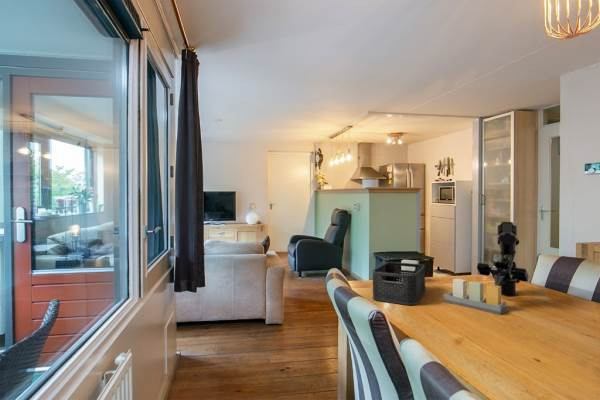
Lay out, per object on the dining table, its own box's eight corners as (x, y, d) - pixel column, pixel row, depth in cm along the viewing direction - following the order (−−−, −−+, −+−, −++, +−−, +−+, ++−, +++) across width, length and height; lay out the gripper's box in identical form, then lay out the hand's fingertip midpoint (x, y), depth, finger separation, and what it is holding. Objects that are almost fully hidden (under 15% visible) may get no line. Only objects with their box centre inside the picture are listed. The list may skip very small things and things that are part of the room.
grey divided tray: (452, 298, 157) (452, 291, 157) (507, 310, 140) (507, 302, 140) (443, 301, 152) (443, 294, 152) (500, 314, 135) (500, 306, 135)
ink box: (419, 282, 187) (419, 260, 187) (417, 284, 183) (417, 261, 183) (403, 280, 191) (403, 259, 191) (401, 282, 187) (401, 260, 187)
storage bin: (387, 286, 180) (387, 260, 180) (426, 290, 170) (426, 263, 170) (370, 301, 155) (370, 271, 155) (415, 307, 145) (414, 275, 145)
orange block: (489, 303, 145) (489, 284, 145) (501, 305, 141) (501, 286, 141) (486, 304, 142) (486, 285, 142) (498, 307, 139) (497, 287, 139)
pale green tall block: (472, 299, 150) (472, 281, 150) (483, 301, 146) (483, 283, 146) (468, 301, 148) (468, 282, 148) (479, 303, 144) (479, 284, 144)
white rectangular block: (456, 296, 155) (456, 278, 155) (466, 298, 152) (466, 280, 152) (452, 297, 153) (452, 279, 153) (463, 299, 150) (462, 281, 149)
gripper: (478, 244, 154) (467, 272, 147) (526, 249, 140) (517, 280, 132) (485, 260, 159) (475, 288, 152) (532, 265, 145) (523, 297, 138)
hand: (496, 288), depth 143 cm, fingers closed
